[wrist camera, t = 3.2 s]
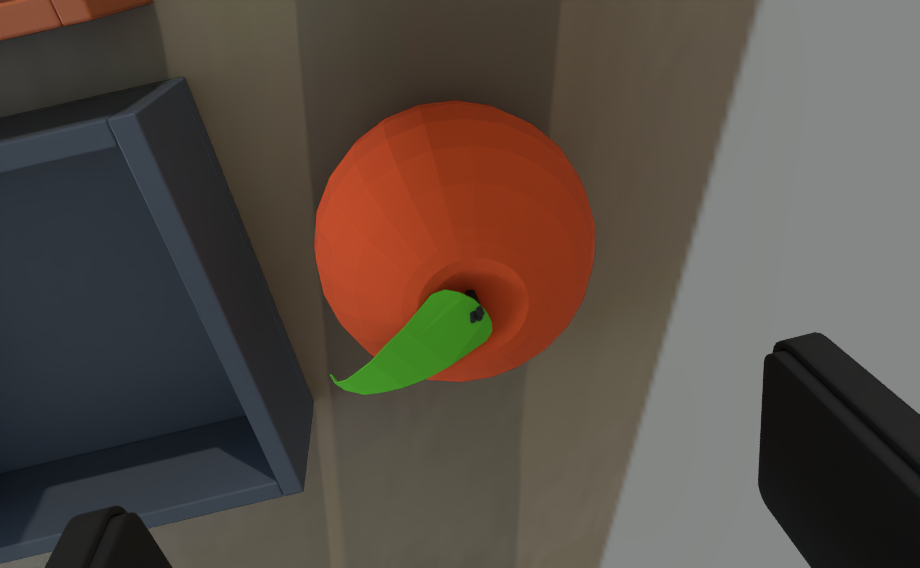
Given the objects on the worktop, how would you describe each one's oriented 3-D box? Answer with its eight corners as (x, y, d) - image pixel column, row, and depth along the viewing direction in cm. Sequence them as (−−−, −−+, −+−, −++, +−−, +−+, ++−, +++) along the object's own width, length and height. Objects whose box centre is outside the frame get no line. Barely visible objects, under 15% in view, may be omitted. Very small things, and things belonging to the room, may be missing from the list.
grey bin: (185, 75, 17) (134, 112, 13) (314, 402, 22) (304, 492, 18) (-242, 172, 16) (-412, 236, 13) (-5, 478, 22) (-78, 583, 18)
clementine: (415, 353, 22) (434, 519, 15) (249, 221, 19) (188, 361, 12) (599, 193, 20) (705, 310, 13) (445, 18, 17) (489, 65, 11)
